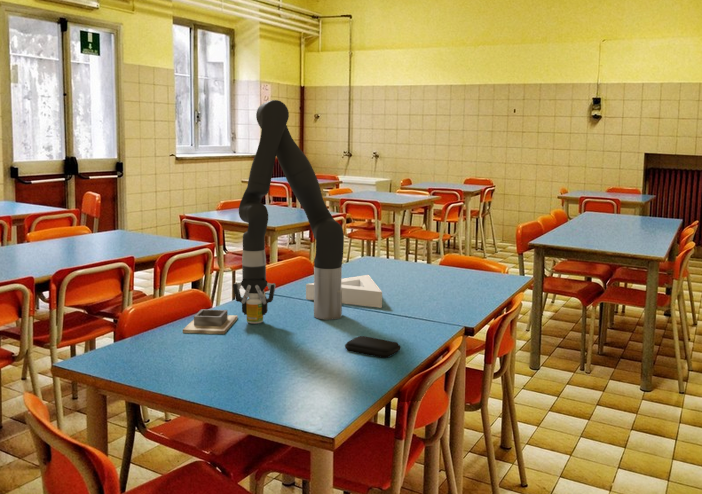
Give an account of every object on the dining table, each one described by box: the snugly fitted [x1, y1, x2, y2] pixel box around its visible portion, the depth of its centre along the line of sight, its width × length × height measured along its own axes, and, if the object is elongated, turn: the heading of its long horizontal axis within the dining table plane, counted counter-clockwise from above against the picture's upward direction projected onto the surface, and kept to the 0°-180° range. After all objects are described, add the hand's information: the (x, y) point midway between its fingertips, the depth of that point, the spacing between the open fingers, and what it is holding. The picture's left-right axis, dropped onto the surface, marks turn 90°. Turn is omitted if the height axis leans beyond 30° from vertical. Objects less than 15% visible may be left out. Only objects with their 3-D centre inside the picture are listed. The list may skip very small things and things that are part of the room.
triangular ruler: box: [305, 274, 383, 309], centre depth 264 cm, size 30×26×6 cm
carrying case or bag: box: [344, 335, 402, 359], centre depth 199 cm, size 11×3×15 cm
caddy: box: [182, 308, 238, 335], centre depth 222 cm, size 13×18×4 cm
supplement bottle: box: [246, 293, 264, 325], centre depth 225 cm, size 5×5×10 cm
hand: (254, 314), depth 225 cm, fingers closed on supplement bottle, 5 cm apart
